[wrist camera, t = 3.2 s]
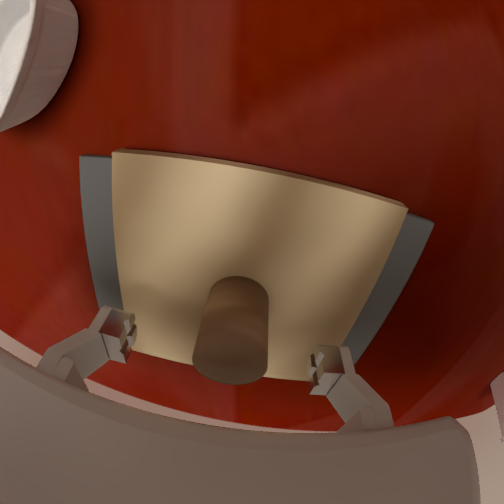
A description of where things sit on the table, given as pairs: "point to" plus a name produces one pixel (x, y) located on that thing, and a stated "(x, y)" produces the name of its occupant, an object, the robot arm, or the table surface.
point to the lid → (243, 261)
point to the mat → (106, 272)
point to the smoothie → (499, 399)
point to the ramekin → (33, 55)
